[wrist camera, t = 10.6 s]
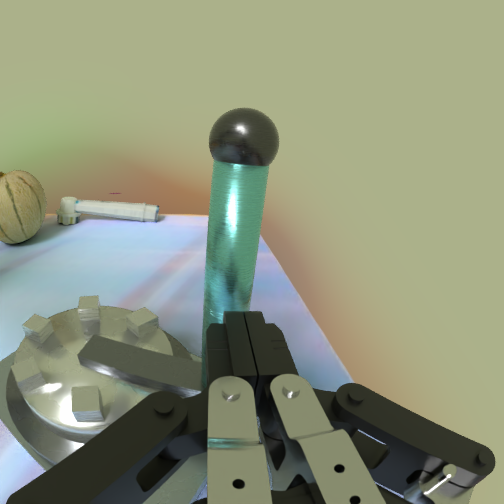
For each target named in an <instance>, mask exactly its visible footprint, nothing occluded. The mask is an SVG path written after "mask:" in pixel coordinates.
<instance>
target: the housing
mask: <svg viewBox="0 0 504 504" xmlns="http://www.w3.org/2000/svg"><path fill="white" fill-rule="evenodd" d="M162 331H163V330H162ZM163 332H164V333H165V335H166V337H167V338H168V340H169V342H170V345H171V348H172V352H173V356H175V357H180V358H184V359H189V360H193V361H198V362H202V358H201V357H198V356H196V355H193V354H191V353H189V352H188V351H187V350H186V349H185V348H184V347H183V346H182V344H181V343H180V342H178V341H177V340H176V339H175V338H174V337H172V336H171V335H169V334H168V333H166V332H165V331H163ZM16 353H17V350H16V351H15V352H13V353H12V354H10V355H9V356H8V357H6V358H5V359H3V360H2V361H0V419H1V421H2V422H3V423H4V425H5V426H6V427H7V428H8V430H9V431H10V432H11V433H12V435H13V436H14V437H15V438H16V439H17V440H18V442H19V443H20V444H21V445H22V446H23V447H24V449H25V450H26V451H27V452H28V453H29V454H30V455H31V456H32V457H33V458H34V459H35V460H36V461H37V463H38V464H39V465H40V466H41V467H42V468H43V469H44V470H45V471H47V470H49V469H50V468H52V467H53V466H55V465H56V464H57V463H59V462H60V461H62V460H63V459H64V458H66V457H67V456H69V455H70V454H71V453H73V452H74V451H76V450H77V449H78V448H80V447H81V446H82V445H84V444H82V443H76V442H73V441H70V440H66V439H64V438H62V437H60V436H58V435H56V434H54V433H53V432H51V431H50V430H48V429H47V428H46V427H45V426H44V425H42V424H41V423H40V422H39V420H38V419H37V418H36V417H35V415H34V414H33V412H32V411H31V409H30V407H29V406H28V404H27V402H26V401H25V399H24V397H23V395H22V394H21V392H20V390H19V388H18V386H17V383H16V380H15V376H14V373H13V371H12V369H11V366H12V365H14V361H15V356H16ZM182 398H184V397H182ZM206 483H207V452H205V453H201V454H198V455H194V456H191V457H189V458H188V460H187V461H186V462H185V463H184V464H183V465H182V466H181V467H180V468H179V469H178V470H177V471H176V472H175V473H174V474H173V475H172V476H171V477H170V478H169V479H168V480H167V481H166V482H165V483H164V484H163V485H162V486H161V487H160V488H159V489H158V490H157V491H156V492H154V493H153V494H152V495H151V496H150V497H149V498H148V499H147V500H146V501H145V502H144V503H143V504H191V503H193V502H195V500H196V499H197V497H198V496H199V494H200V493H201V491H202V490H203V488H204V486H205V485H206Z"/></svg>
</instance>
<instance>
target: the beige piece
mask: <svg viewBox="0 0 504 504" xmlns="http://www.w3.org/2000/svg"><path fill="white" fill-rule="evenodd" d="M158 212H159V206H155V205H148V204H145V202H144V204H139V203H124V202H108V201H91V200H77V198H74V197H63V198H62V200H61V204H60V208H59V209H57V211H56V214H57V215H58V223H63V225H69V224H76V223H78V222H79V216H80V215H81V213H84V214H92V215H99V216H107V217H115V218H123V219H130V220H138V221H141V222H143V221H146V222H157V218H158Z"/></svg>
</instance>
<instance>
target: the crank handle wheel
mask: <svg viewBox="0 0 504 504" xmlns="http://www.w3.org/2000/svg"><path fill="white" fill-rule="evenodd" d="M278 147H279V136H278V132H277V129H276V127H275V125H274V123H273V122H272V120H271V119H270V118H269V117H267V116H266V115H264V113H262V112H260V111H258V110H255V109H251V108H238V109H233V110H230V111H228V112H226V113H225V114H223V115H222V116H221V117H220V118H219V119H218V120H217V121H216V122H215V124H214V125H213V127H212V129H211V132H210V136H209V148H210V152H211V154H212V157H213V159H214V164H213V175H212V185H211V196H210V209H209V221H208V234H207V249H206V265H205V283H204V304H203V329H202V362H198V361H193V360H189V359H184V358H180V357H175V356H173V352H172V348H171V345H170V342H169V340H168V338H167V337H166V335H165V333H164V332H163V331H162V330H161V329H160V328H159V326H158V317H157V316H156V315H155V314H153V313H152V312H151V311H149V310H148V309H147V308H145V307H144V308H142V309H139V310H137V311H135V312H133V311H129V310H126V309H122V308H117V307H109V306H100V302H99V296H84V297H80V299H79V306H78V308H74V309H71V310H67V311H64V312H61V313H58V314H56V315H53V316H51V317H49V318H47V319H46V318H44V317H41V316H39V315H36V314H34V315H33V316H32V317H31V318H30V319H29V320H28V321H26V322H25V323H24V324H23V325H22V326H23V329H24V332H25V334H26V336H25V338H24V339H23V341H22V342H21V344H20V346H19V348H18V350H17V353H16V356H15V361H14V365H12V366H11V369H12V371H13V373H14V376H15V380H16V383H17V386H18V388H19V390H20V392H21V394H22V395H23V397H24V399H25V401H26V402H27V404H28V406H29V407H30V409H31V411H32V412H33V414H34V415H35V417H36V418H37V419H38V420H39V422H40V423H41V424H42V425H44V426H45V427H46V428H47V429H48V430H50V431H51V432H53V433H54V434H56V435H58V436H60V437H62V438H64V439H66V440H70V441H73V442H76V443H82V444H85V443H87V442H88V441H89V440H91V439H92V438H93V437H95V436H96V435H97V434H99V433H100V432H101V431H103V430H104V429H105V428H107V427H108V426H109V425H111V424H112V423H113V422H114V421H116V420H117V419H118V418H120V417H121V416H122V415H124V414H125V413H126V412H127V411H129V410H130V409H131V408H133V407H134V406H135V405H136V404H138V403H139V402H140V401H141V400H143V399H144V398H145V397H146V396H148V395H149V394H151V393H154V392H158V391H169V392H173V393H175V394H177V395H179V396H180V397H184V398H187V397H191V396H195V395H197V394H199V393H201V392H202V391H203V390H204V389H205V388H206V387H207V383H206V365H205V349H206V331H207V329H208V327H209V326H210V324H211V323H223V313H224V311H242V312H243V311H249V309H250V302H251V294H252V287H253V280H254V273H255V266H256V258H257V251H258V244H259V237H260V229H261V222H262V215H263V207H264V199H265V191H266V184H267V177H268V170H269V164H271V163H272V161H273V160H274V158H275V156H276V154H277V152H278Z"/></svg>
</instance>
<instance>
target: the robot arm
mask: <svg viewBox="0 0 504 504" xmlns="http://www.w3.org/2000/svg"><path fill="white" fill-rule="evenodd" d="M205 365H206V383H207V387H206V388H205V389H204V390H203V391H202V392H201V393H199V394H197V395H195V396H191V397H187V398H182V397H180V396H179V395H177V394H175V393H173V392H169V391H158V392H154V393H151V394H149V395H148V396H146V397H145V398H144V399H143V400H141V401H140V402H139V403H138V404H136V405H135V406H134V407H133V408H131V409H130V410H129V411H127V412H126V413H125V414H124V415H122V416H121V417H120V418H118V419H117V420H116V421H114V422H113V423H112V424H111V425H109V426H108V427H107V428H105V429H104V430H103V431H101V432H100V433H99V434H97V435H96V436H95V437H93V438H92V439H91V440H89V441H88V442H87V443H85V444H84V445H82V446H81V447H80V448H78V449H77V450H76V451H74V452H73V453H71V454H70V455H69V456H67V457H66V458H64V459H63V460H62V461H60V462H59V463H57V464H56V465H55V466H53V467H52V468H50V469H49V470H47V471H46V472H45V473H43V474H42V475H40V476H39V477H37V478H36V479H34V480H33V481H31V482H30V483H28V484H27V485H25V486H24V487H22V488H21V489H19V490H18V491H16V492H15V493H13V494H12V495H11V496H10V497H9V498H8V500H7V503H6V504H143V503H144V502H145V501H146V500H147V499H148V498H149V497H150V496H151V495H152V494H153V493H154V492H156V491H157V490H158V489H159V488H160V487H161V486H162V485H163V484H164V483H165V482H166V481H167V480H168V479H169V478H170V477H171V476H172V475H173V474H174V473H175V472H176V471H177V470H178V469H179V468H180V467H181V466H182V465H183V464H184V463H185V462H186V461H187V460H188V458H189V457H191V456H194V455H198V454H201V453H205V452H207V498H203V499H200V500H198V501H195V502H193V503H191V504H468V503H469V500H470V497H471V494H472V491H473V488H474V486H475V485H476V484H477V483H479V482H480V481H481V480H483V479H484V478H485V477H486V476H487V475H489V474H490V473H491V472H492V471H493V469H494V467H495V457H494V454H493V453H492V451H491V450H490V449H489V448H488V447H486V446H484V445H482V444H480V443H477V442H475V441H473V440H470V439H468V438H466V437H464V436H461V435H459V434H457V433H455V432H453V431H451V430H449V429H446V428H444V427H442V426H440V425H438V424H436V423H434V422H432V421H430V420H427V419H426V418H424V417H422V416H420V415H418V414H416V413H414V412H412V411H410V410H408V409H406V408H404V407H402V406H400V405H398V404H396V403H394V402H392V401H390V400H388V399H386V398H385V397H383V396H381V395H379V394H377V393H375V392H374V391H372V390H370V389H368V388H366V387H364V386H362V385H360V384H356V383H348V384H344V385H342V386H340V387H339V388H338V390H337V392H331V391H323V390H318V389H314V388H312V387H311V385H310V384H309V382H308V381H307V380H305V379H304V378H302V377H300V376H299V375H298V372H297V369H296V367H295V364H294V362H293V359H292V356H291V354H290V351H289V349H288V346H287V343H286V342H285V338H284V335H283V333H282V331H281V330H280V329H279V328H278V327H277V326H276V325H275V324H274V323H272V324H266V323H265V320H264V317H263V314H262V312H261V311H243V312H242V311H224V313H223V323H211V324H210V326H209V327H208V329H207V331H206V349H205ZM256 416H259V419H260V427H259V434H258V426H257V417H256ZM358 429H359V430H361V431H363V432H365V433H366V434H368V435H370V436H372V437H374V438H375V439H377V440H379V441H381V442H383V443H385V444H386V445H384V444H381V443H379V442H377V441H376V440H374V439H372V438H370V437H368V436H366V435H365V434H363V433H361V432H359V431H358ZM259 436H260V439H261V442H262V443H260V440H259ZM266 458H267V461H268V464H269V467H270V470H271V473H272V487H273V490H270V483H269V476H268V469H267V461H266ZM374 481H375V482H377V483H379V484H381V485H383V486H385V487H387V488H389V489H391V490H393V491H395V492H397V493H399V494H401V495H403V496H404V499H403V498H401V497H400V496H398V495H396V494H394V493H392V492H390V491H388V490H386V489H385V488H383V487H381V486H379V485H377V484H375V482H374Z"/></svg>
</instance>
